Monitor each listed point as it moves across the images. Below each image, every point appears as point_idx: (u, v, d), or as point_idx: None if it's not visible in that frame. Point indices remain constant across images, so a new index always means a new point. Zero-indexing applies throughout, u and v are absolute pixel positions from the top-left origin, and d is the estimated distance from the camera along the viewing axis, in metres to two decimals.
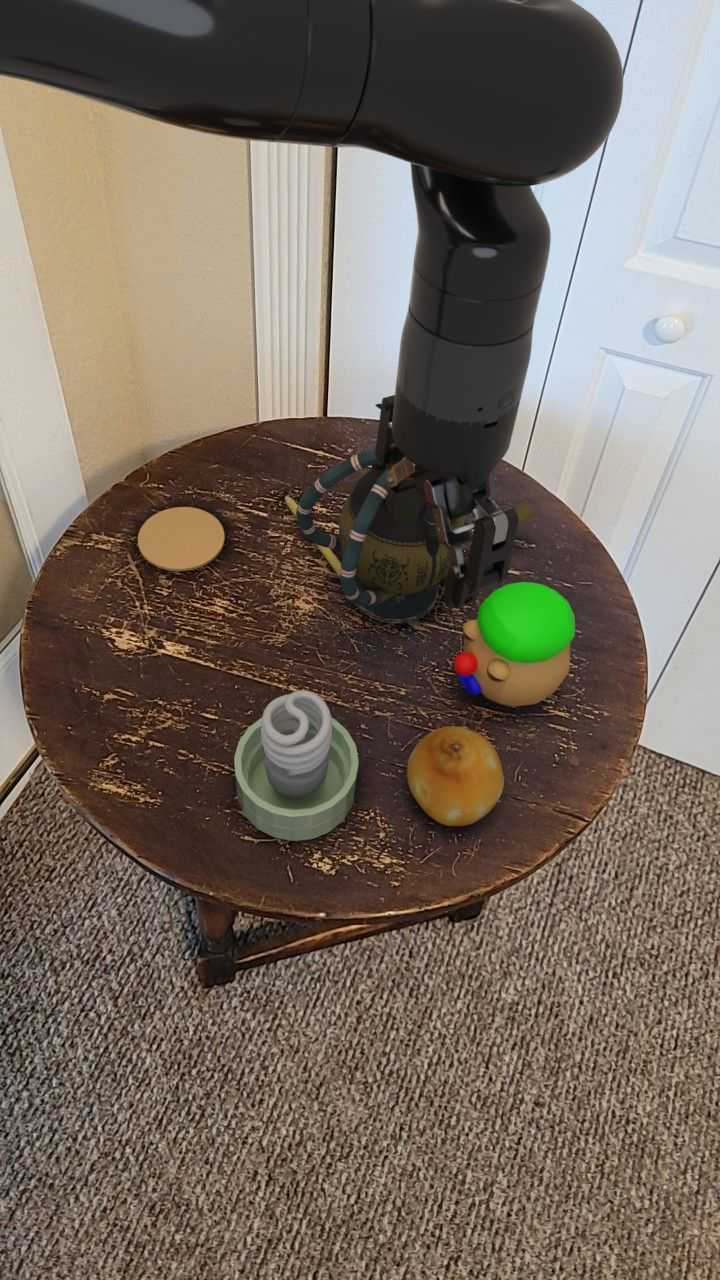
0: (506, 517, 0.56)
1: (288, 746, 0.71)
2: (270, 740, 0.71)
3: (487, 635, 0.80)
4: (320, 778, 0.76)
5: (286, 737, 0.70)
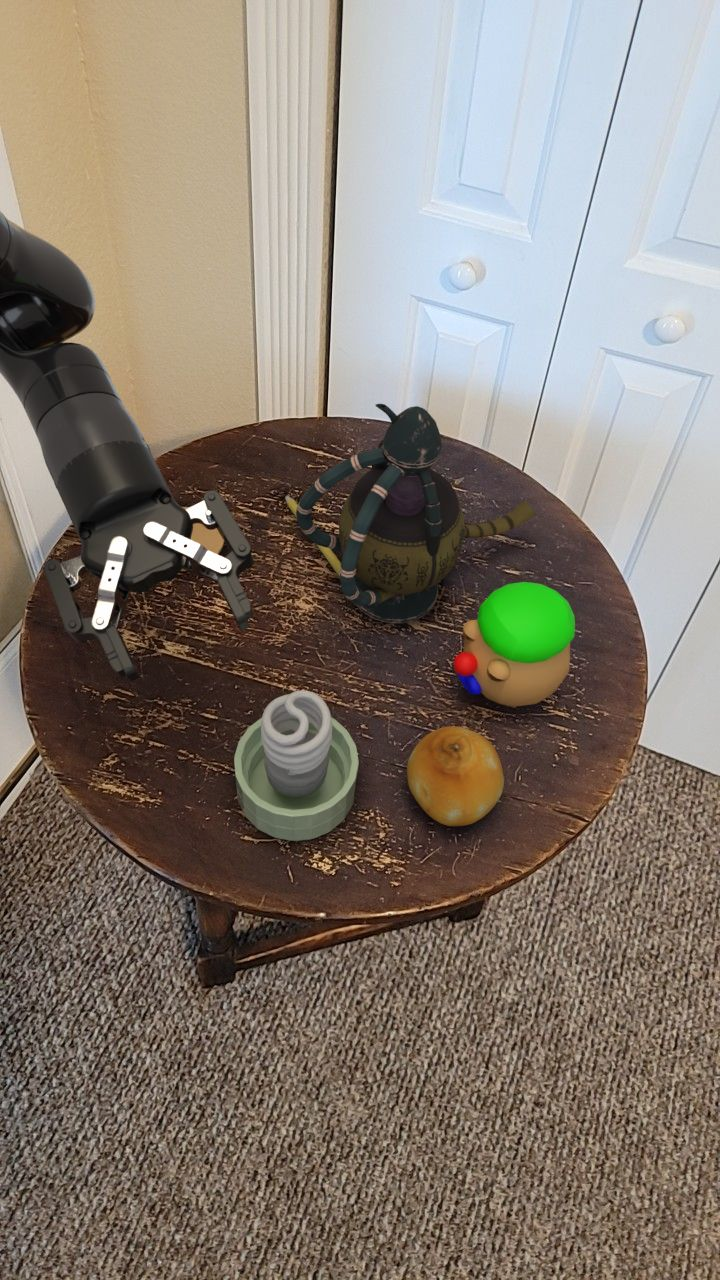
0: None
1: (288, 746, 0.71)
2: (270, 740, 0.71)
3: (487, 635, 0.80)
4: (320, 778, 0.76)
5: (286, 737, 0.70)
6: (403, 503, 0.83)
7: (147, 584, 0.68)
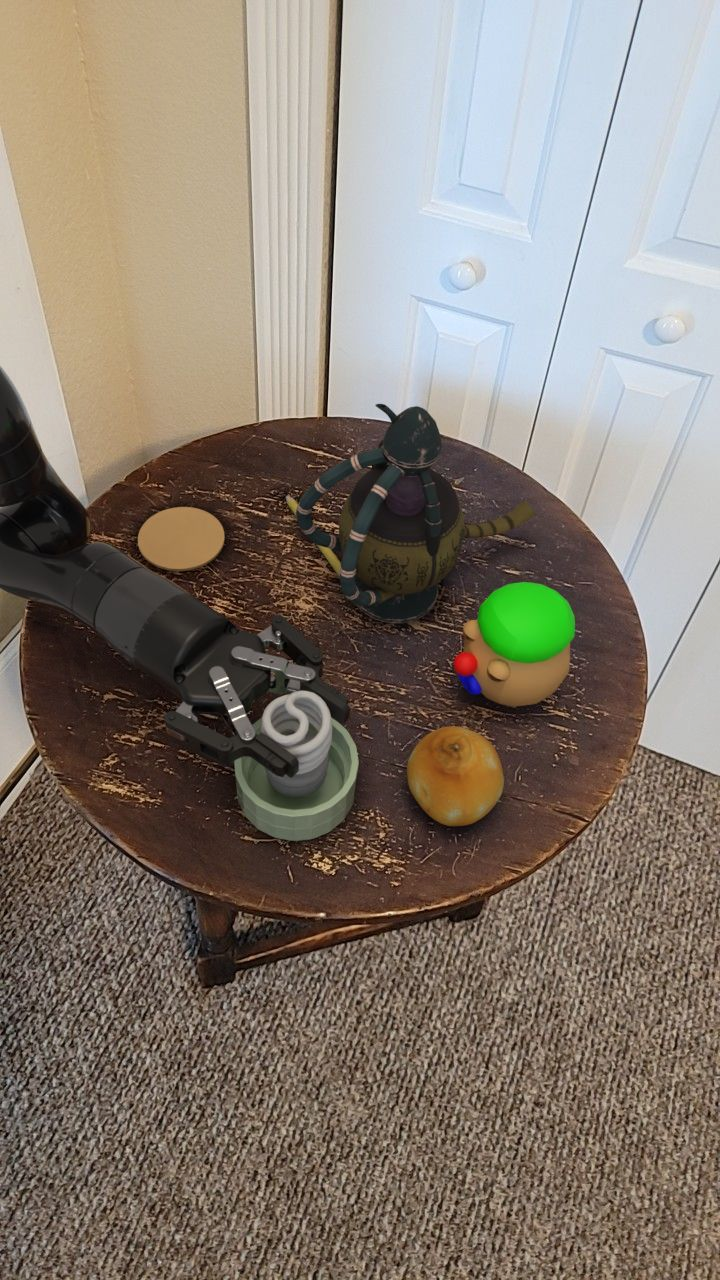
0: None
1: (288, 746, 0.71)
2: None
3: (487, 635, 0.80)
4: (320, 778, 0.76)
5: (286, 737, 0.70)
6: (403, 503, 0.83)
7: (249, 701, 0.73)
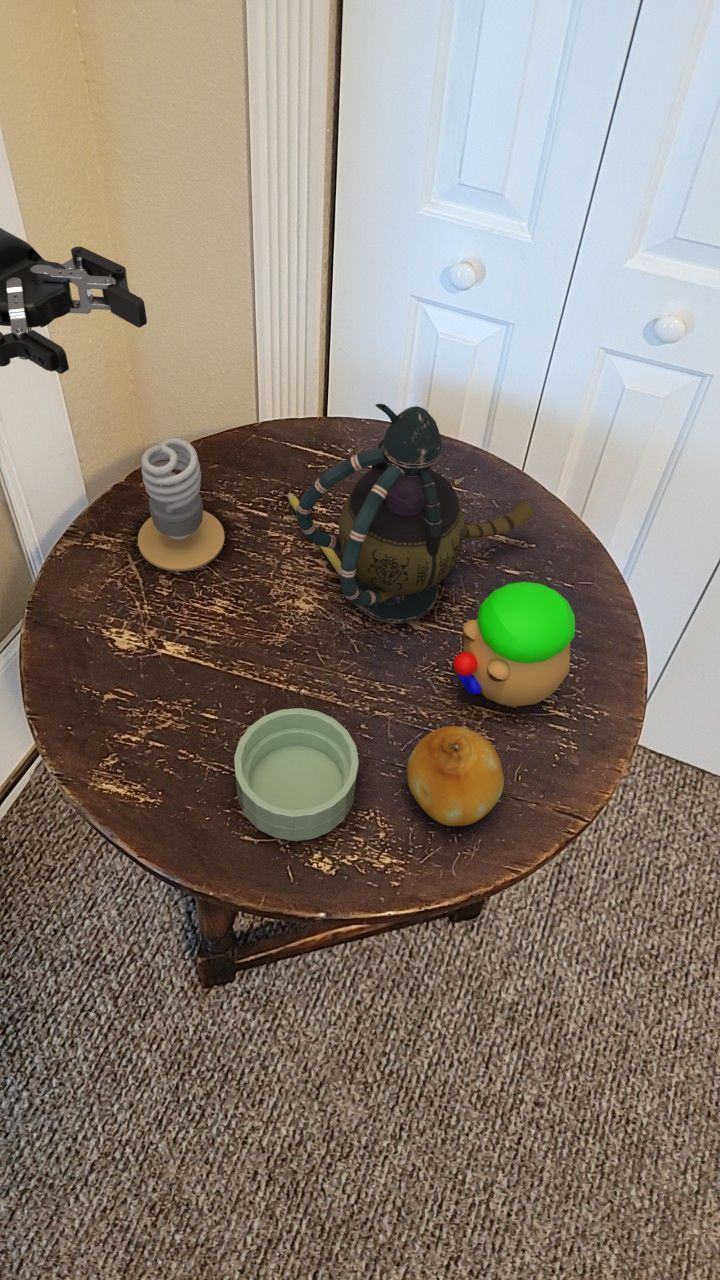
0: None
1: (161, 477, 0.88)
2: (147, 474, 0.88)
3: (487, 635, 0.80)
4: (194, 518, 0.93)
5: (158, 468, 0.87)
6: (403, 503, 0.83)
7: (47, 314, 0.77)
